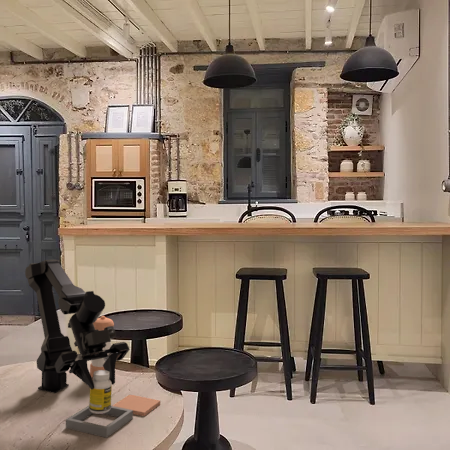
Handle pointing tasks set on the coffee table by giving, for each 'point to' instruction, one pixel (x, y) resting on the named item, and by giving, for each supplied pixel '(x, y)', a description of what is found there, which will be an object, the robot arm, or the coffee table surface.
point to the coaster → (138, 404)
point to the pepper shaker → (98, 363)
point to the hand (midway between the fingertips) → (103, 386)
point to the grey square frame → (95, 429)
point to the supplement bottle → (100, 393)
